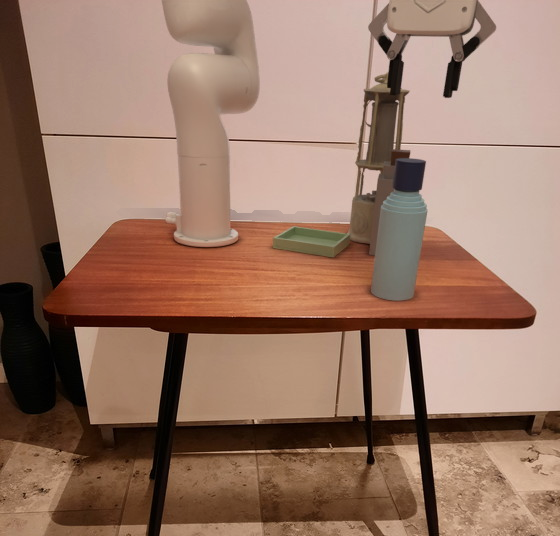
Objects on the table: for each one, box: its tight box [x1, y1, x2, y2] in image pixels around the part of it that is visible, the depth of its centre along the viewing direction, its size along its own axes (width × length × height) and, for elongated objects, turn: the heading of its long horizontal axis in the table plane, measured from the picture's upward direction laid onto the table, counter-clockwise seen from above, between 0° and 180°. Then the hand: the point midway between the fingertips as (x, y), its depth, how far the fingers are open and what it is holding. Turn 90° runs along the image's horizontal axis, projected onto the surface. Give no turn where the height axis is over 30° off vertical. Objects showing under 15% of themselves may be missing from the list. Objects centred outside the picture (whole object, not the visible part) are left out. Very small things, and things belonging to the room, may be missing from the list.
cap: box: [392, 157, 427, 192], centre depth 76 cm, size 4×4×4 cm
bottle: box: [370, 189, 428, 302], centre depth 80 cm, size 7×7×19 cm
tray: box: [272, 225, 351, 258], centre depth 105 cm, size 12×10×2 cm
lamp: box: [346, 72, 411, 245], centre depth 106 cm, size 10×13×30 cm
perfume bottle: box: [368, 148, 411, 256], centre depth 100 cm, size 7×7×18 cm
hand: (420, 94), depth 71 cm, fingers open, 6 cm apart
